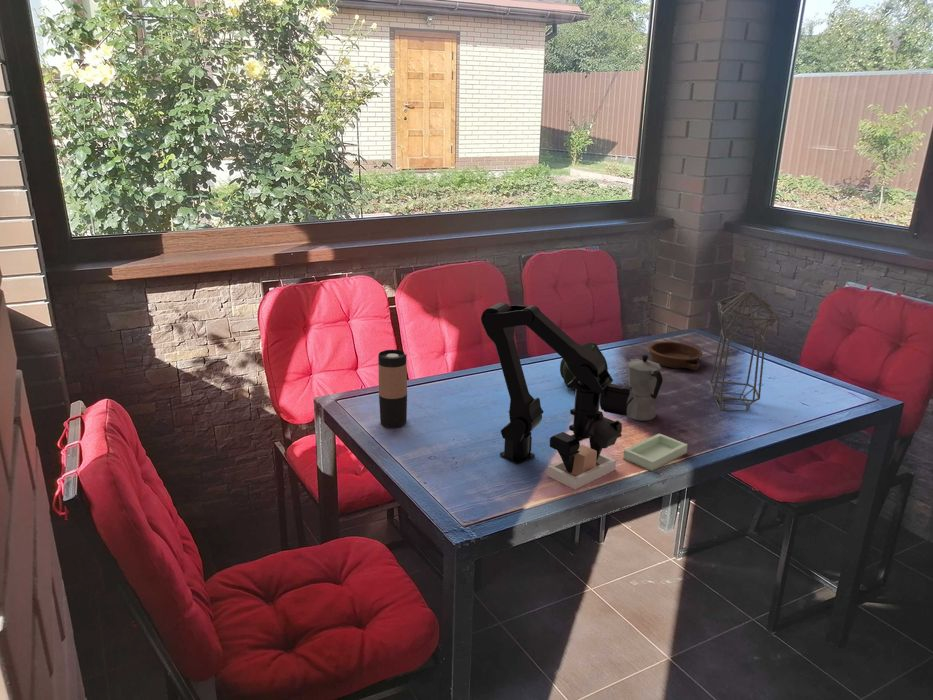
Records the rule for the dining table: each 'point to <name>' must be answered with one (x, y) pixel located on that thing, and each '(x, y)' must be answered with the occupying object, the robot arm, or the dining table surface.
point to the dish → (675, 355)
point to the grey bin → (575, 482)
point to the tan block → (584, 460)
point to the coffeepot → (644, 387)
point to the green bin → (655, 452)
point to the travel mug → (392, 388)
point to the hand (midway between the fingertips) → (582, 466)
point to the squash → (566, 372)
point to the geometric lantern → (771, 316)
